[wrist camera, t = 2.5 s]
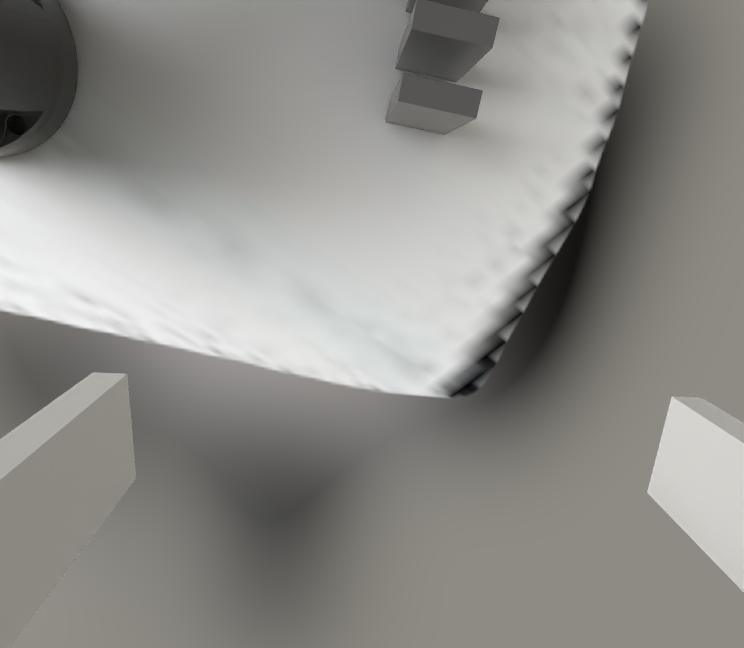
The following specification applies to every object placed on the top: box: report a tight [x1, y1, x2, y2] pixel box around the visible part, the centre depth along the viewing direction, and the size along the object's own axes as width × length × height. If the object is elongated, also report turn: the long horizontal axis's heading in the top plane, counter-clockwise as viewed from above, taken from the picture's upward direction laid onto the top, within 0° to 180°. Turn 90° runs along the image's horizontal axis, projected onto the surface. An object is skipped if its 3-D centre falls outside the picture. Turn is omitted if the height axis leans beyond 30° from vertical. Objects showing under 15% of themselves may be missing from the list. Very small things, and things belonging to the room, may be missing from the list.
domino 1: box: [386, 73, 482, 134], centre depth 34 cm, size 5×2×10 cm, turn 79°
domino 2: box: [396, 0, 499, 82], centre depth 33 cm, size 5×2×10 cm, turn 79°
